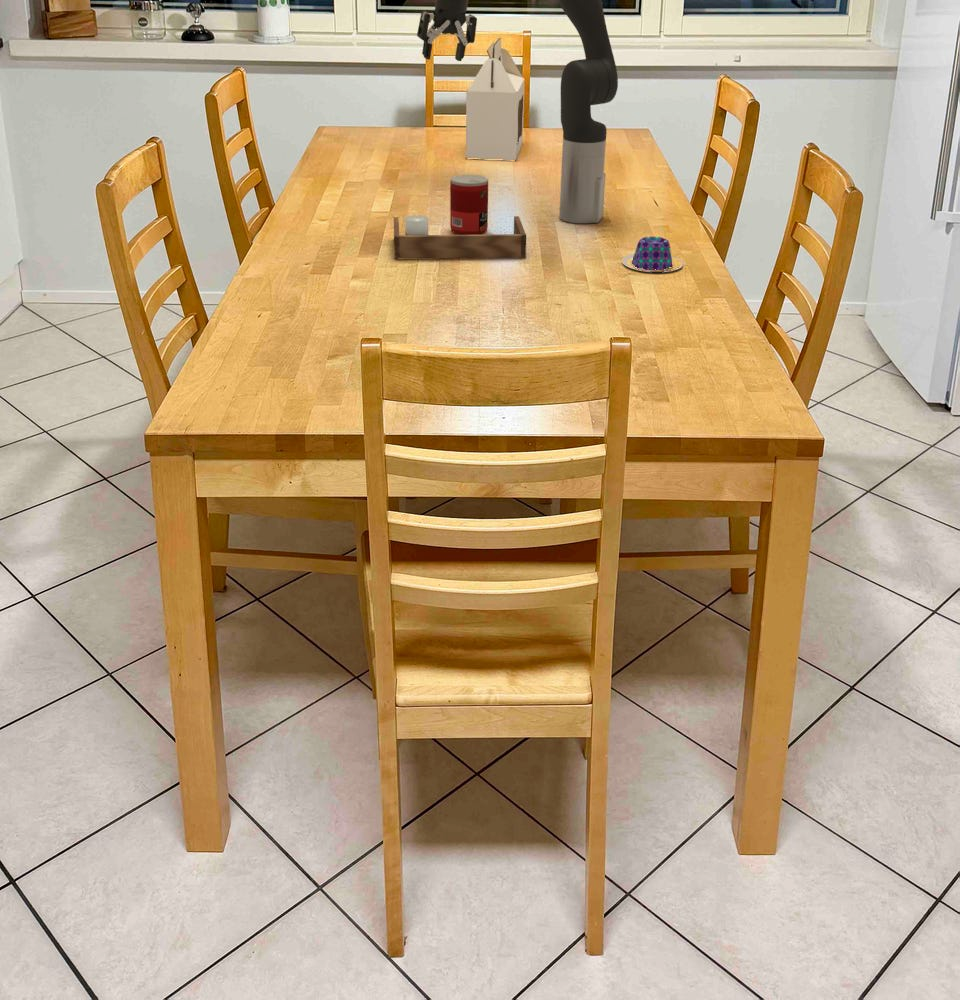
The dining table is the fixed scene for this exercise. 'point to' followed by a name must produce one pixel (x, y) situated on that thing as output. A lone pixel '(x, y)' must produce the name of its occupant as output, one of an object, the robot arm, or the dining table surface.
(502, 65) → the gable box
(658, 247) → the patterned hat
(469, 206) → the canned food
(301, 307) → the dining table surface
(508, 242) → the u-shaped frame
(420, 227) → the grey rounded capsule
